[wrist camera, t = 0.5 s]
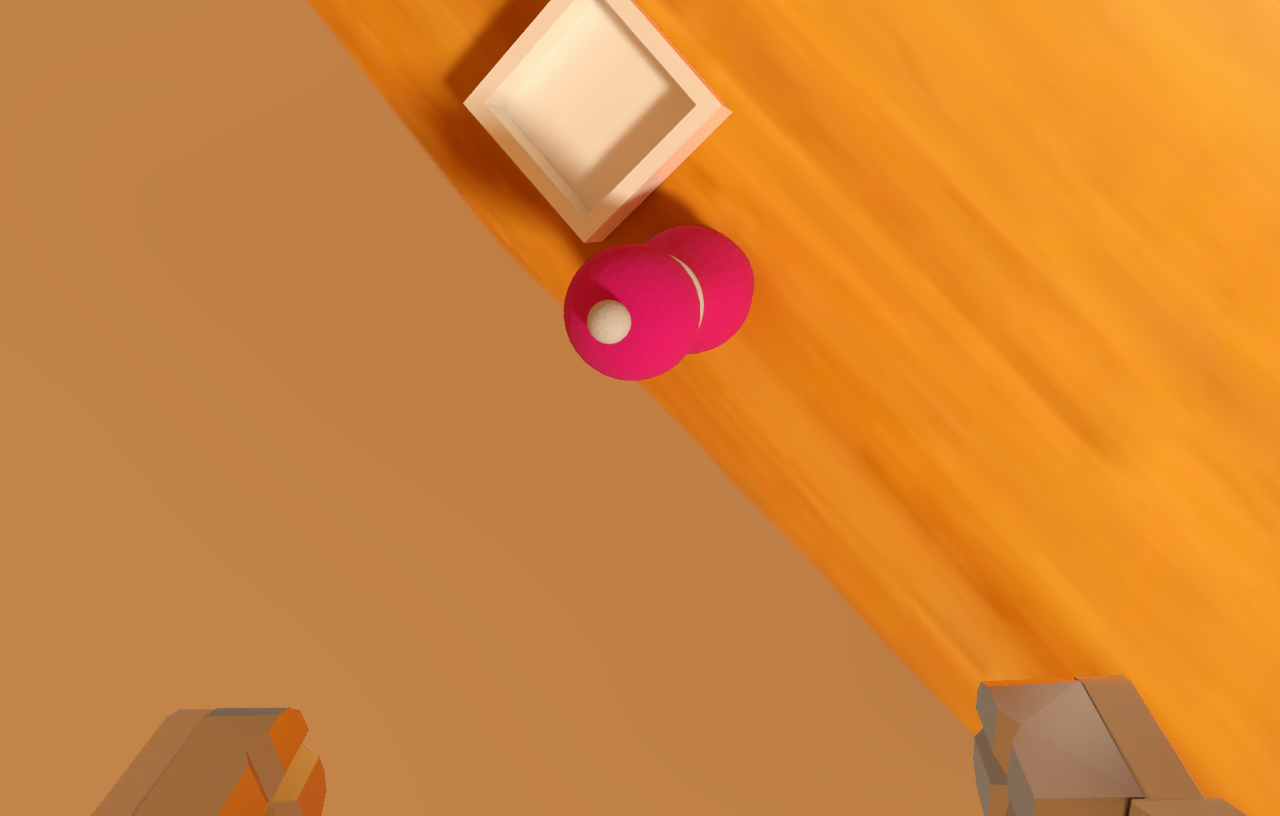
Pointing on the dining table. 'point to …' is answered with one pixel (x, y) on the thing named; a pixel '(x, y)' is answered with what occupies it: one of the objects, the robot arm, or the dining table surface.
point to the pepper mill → (657, 301)
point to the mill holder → (596, 109)
